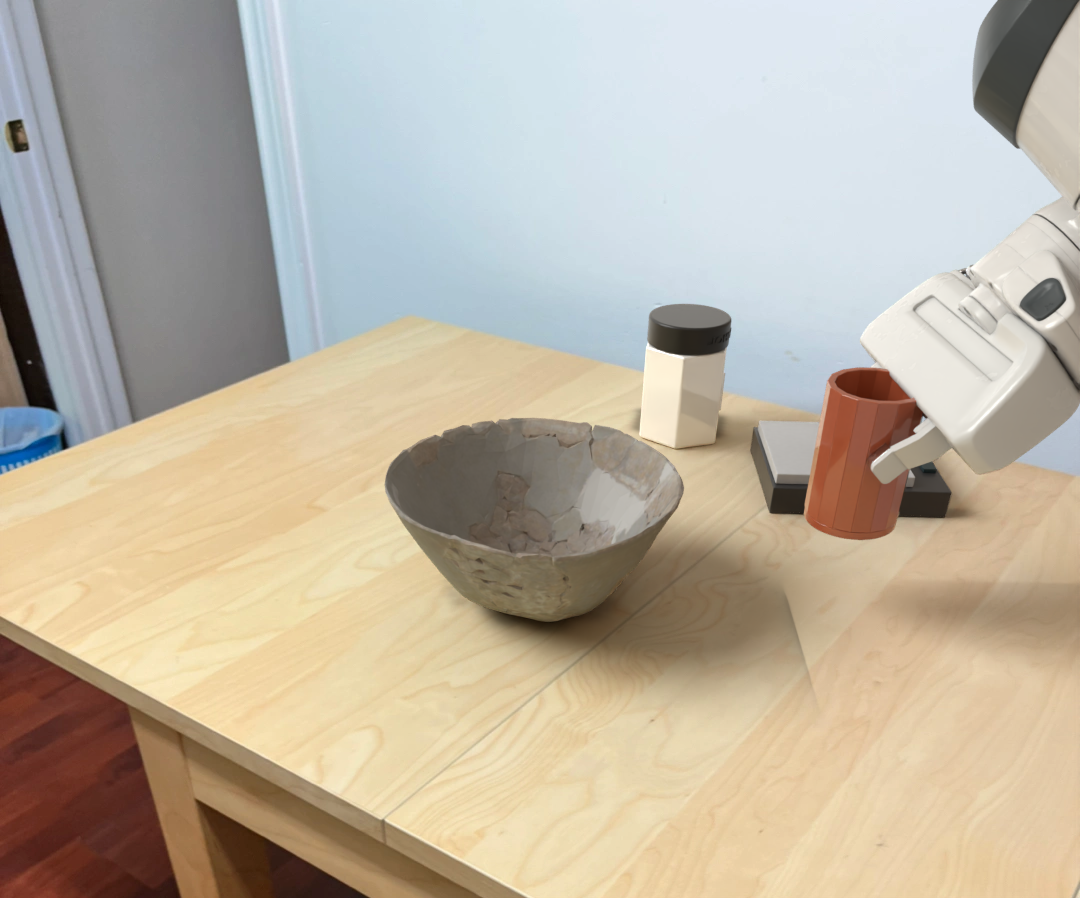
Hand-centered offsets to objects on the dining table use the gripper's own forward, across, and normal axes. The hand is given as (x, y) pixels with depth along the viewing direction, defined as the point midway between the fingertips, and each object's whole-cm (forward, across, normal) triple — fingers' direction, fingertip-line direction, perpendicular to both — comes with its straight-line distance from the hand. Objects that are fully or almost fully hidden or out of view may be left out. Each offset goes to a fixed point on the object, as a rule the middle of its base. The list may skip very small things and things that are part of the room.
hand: (855, 448), depth 73 cm
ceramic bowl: (+26, -4, -6) cm, 27 cm away
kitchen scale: (+4, -24, +16) cm, 29 cm away
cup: (+3, 0, +4) cm, 5 cm away
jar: (+14, -36, +6) cm, 39 cm away
